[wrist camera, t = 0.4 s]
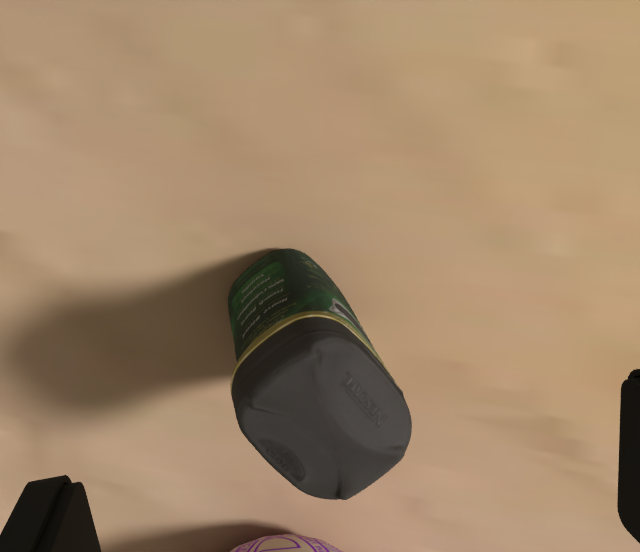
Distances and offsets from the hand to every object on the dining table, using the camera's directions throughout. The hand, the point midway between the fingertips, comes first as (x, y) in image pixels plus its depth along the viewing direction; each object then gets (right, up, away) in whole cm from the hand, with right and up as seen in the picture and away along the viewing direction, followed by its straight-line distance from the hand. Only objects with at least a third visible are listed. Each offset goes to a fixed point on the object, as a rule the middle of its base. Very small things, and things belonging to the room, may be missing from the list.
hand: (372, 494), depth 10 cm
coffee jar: (-3, +1, +37) cm, 37 cm away
